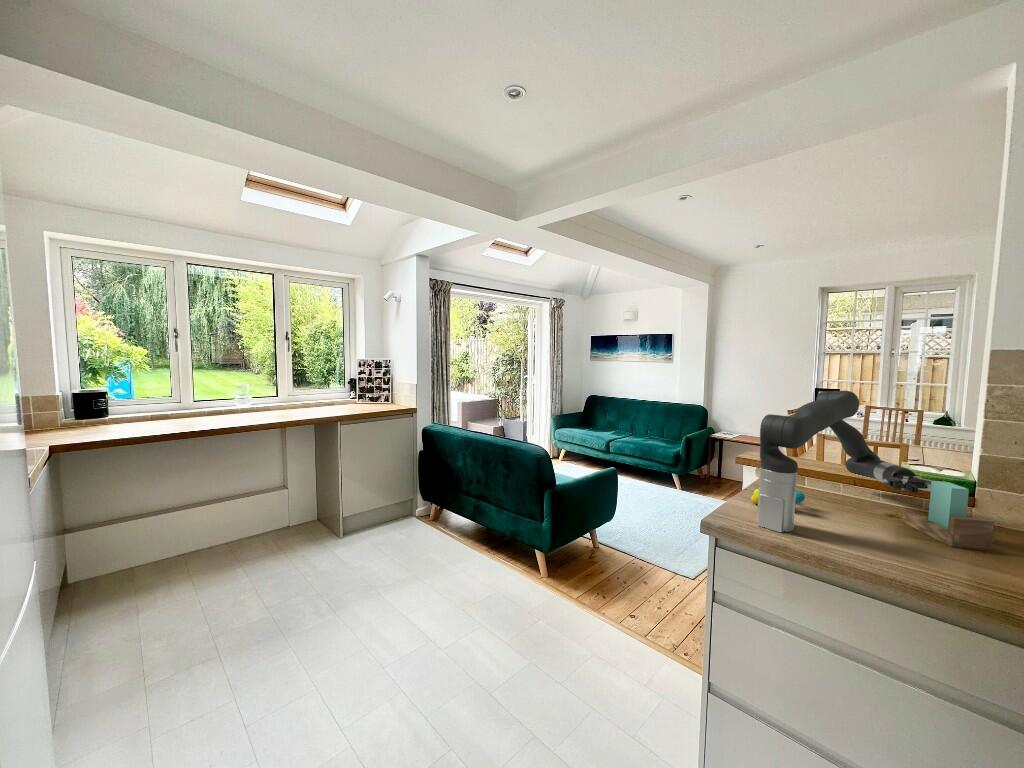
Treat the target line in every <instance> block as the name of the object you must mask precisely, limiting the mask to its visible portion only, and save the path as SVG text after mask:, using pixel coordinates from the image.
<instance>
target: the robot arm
mask: <svg viewBox="0 0 1024 768" xmlns="http://www.w3.org/2000/svg"><path fill="white" fill-rule="evenodd" d="M859 408H860V399H859V397H858V396H857V394H856V393H854V392H853V391H850V390H831V391H829V390H828V391H821V392H819V393H818V394H817V395H816V400H813V401H811V402H807V403H805V404H803V405H801V406H800V407H799V408H797V409H796V410H795V412H794V416H789V415H780V414H766V415H765V416H764V417H763V418H762V419H761V422H760V427H759V459H760V460H759V461H760V469H759V471H760V472H759V482H758V483H759V485H758V487H759V488H758V489H759V499H758V505H757V515H756V516H757V518H756V523H757V526H758V527H761V528H764V527H765V528H764V529H767V530H772V531H774V532H778V533H784V531H785V533H787V532H788V533H789V532H792V531H794V530H795V529H794V528H795V512H796V511H795V509H796V502H795V499H796V491H797V482H798V481H797V480H798V467H799V464H798V462H797V461H796V460H795V459H793V458H791V457H789V456H787V455H786V454H784V453H783V452H782V451H781V450H780V448H785V449H792V450H793V449H799V448H801V447H803V446H804V445H806V443H807V442H808V441H810V439H812V438H813V437H814V436H815V435H817V434H818V433H820V432H822V431H824V430H826V429H827V428H830V429H831V430H832V432H833V433H834V434H835V436H836V437H837V439H838V441H839V442H840V444H841V446H842V448H843V451H844V452H845V454H846V455H847V456H848V457H850V458H848V459H847V460H846V461H845V468H846V470H847V471H848V472H849V473H850V472H851V473H850V474H852V473H854V474H858V475H862V476H866V477H870V478H869V479H875V480H876V481H880V482H881V483H882V484H883V485H885V486H887V487H889V488H892V489H894V490H898V491H901V492H903V491H904V492H905V491H907V492H909V493H911V494H915V495H917V494H918V492H919V490H921V491H925V492H931V482H932V481H938V480H937V479H934V478H929V479H927V478H922V477H920V476H917V475H916V473H915V472H914V471H913V470H911V469H910V468H907V467H904V466H900V465H899V464H895V463H892V462H888V461H885V460H882V459H881V458H880V456H879V455H877V454H876V453H875V452H874V451H872V449H871V448H870V446H869V445H868V443H867V442H866V441H867V440H866V439H865V437H864V436H863V434H862V433H861V432H860V431H859V429H857V428H856V427H854V426H853V425H851V424H849V422H847V421H845V419H848V418H851V417H853V416H855V415H857V413H858V411H859ZM779 447H780V448H779ZM854 474H853V475H854ZM926 485H927V488H926Z"/></svg>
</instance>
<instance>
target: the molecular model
mask: <svg viewBox="0 0 1024 768" xmlns="http://www.w3.org/2000/svg"><path fill="white" fill-rule="evenodd" d="M758 499H759V488H756V489H754V490H753V494H752V496H751V502H752V503H753V504H754V505H756V504H757V505H756V506H758ZM805 499H806V495H805V494H804V493H803V492H801V491H800V490H799V491H797V490H796V499H795V503H803V502H804V501H805Z"/></svg>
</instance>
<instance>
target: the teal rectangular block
mask: <svg viewBox="0 0 1024 768" xmlns="http://www.w3.org/2000/svg"><path fill="white" fill-rule="evenodd" d="M969 492H970V489H969V488H966V487H964V486H961V485H958V484H955V483H952V482H948V481H940V480H937V481H932V482H931V491H930V492H929V493H930V495H929V506H928V517H927V520H929V521H931V522H933V523H935V524H937V525H939V526H941V527H943V528H945V529H947V530H948V528H949V517H950V516H953V517H966V518H967V514H968V506H969V504H968V503H969V502H968V501H969V494H970V493H969Z"/></svg>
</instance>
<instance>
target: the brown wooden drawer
mask: <svg viewBox="0 0 1024 768" xmlns="http://www.w3.org/2000/svg"><path fill="white" fill-rule="evenodd" d="M901 522H903V524H906V525H909V526H910V527H912V528H914V529H916V530H918V531H920V532H922V533H923V534H925V535H927V536H929V537H931V538H933V539H935V540H937V541H939V542H941V543H943V544H944V543H945V545H946V544H947V545H946V546H948V545H949V547H950V546H951V548H955V547H958V548H957V549H966V548H968V549H969V550H970V549H971V550H978V551H979V550H980V551H989V550H991V551H992V549H993V548H992V547H993V539H994V529H995V520H992V519H990V518H989V519H988V518H977V517H967V516H966V517H953V516H950V517H949V528H948V530H947V529H945V528H943V527H941V526H939V525H937V524H935V523H933V522H931V521H929V520H928V519H926V518H924V517H922V516H920V515H918V514H916V513H913V512H911V511H909V510H903V517H902V518H901Z"/></svg>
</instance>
